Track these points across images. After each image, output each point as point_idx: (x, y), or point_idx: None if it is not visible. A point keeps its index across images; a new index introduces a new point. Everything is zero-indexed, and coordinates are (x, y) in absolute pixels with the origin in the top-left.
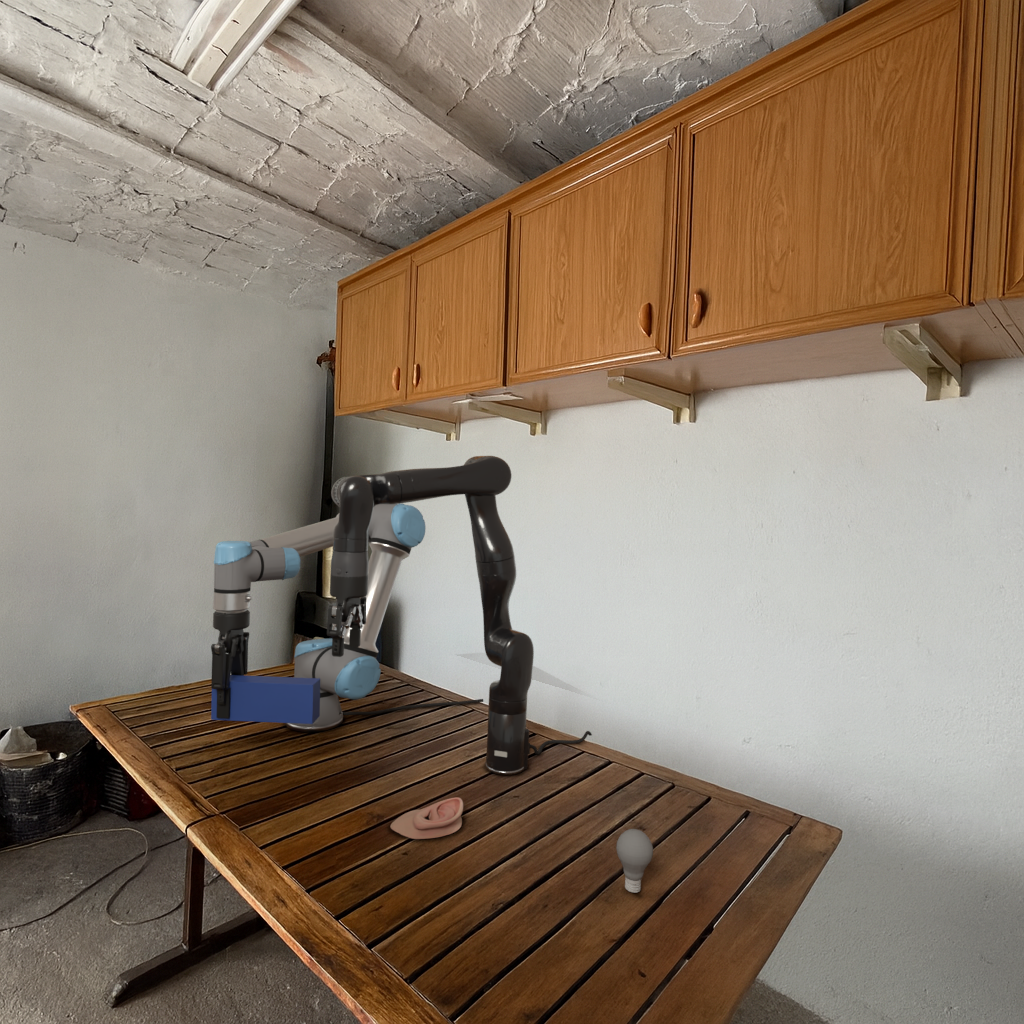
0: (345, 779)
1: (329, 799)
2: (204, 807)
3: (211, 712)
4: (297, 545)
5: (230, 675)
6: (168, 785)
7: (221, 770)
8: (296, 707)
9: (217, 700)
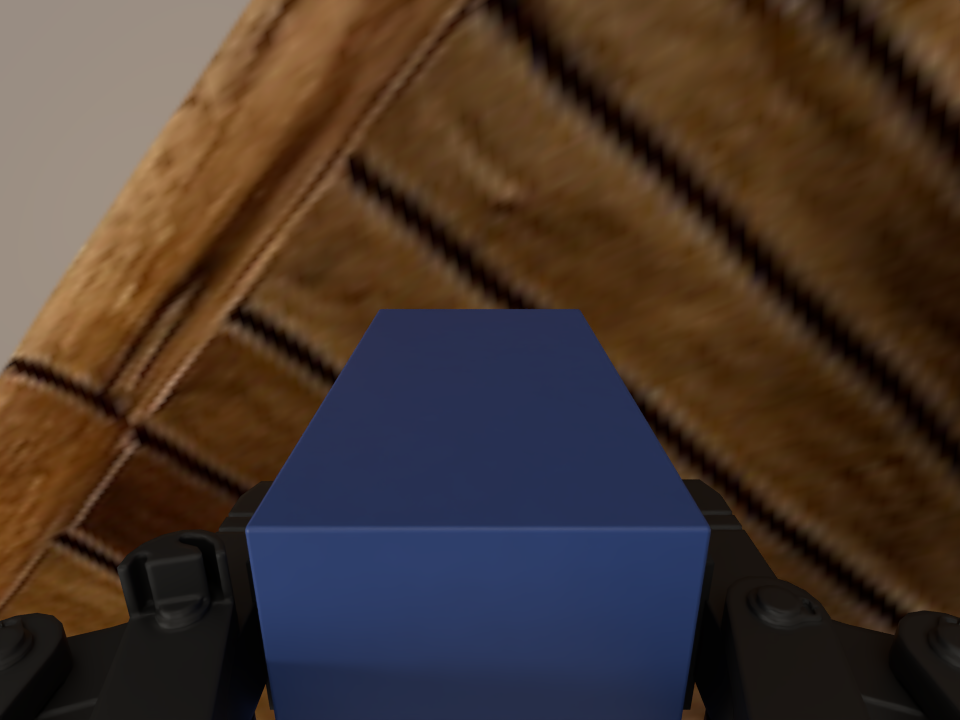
0: None
1: None
2: (157, 350)
3: (367, 331)
4: None
5: (647, 683)
6: (306, 67)
7: (512, 248)
8: None
9: (235, 509)
